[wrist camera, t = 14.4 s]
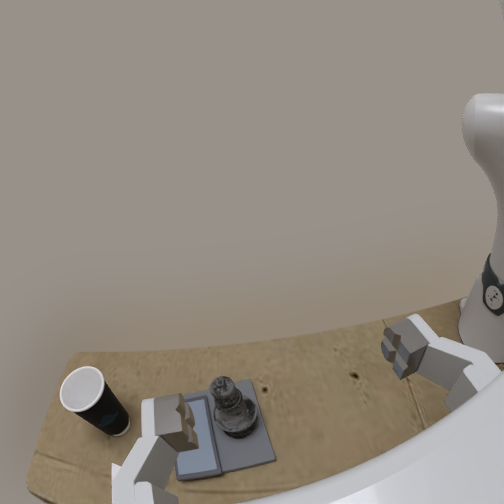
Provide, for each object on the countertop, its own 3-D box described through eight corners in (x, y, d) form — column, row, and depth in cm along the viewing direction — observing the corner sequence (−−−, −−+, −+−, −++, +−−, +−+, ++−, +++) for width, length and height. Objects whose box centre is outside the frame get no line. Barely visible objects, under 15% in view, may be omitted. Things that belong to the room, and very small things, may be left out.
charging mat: (251, 382, 43) (250, 378, 42) (276, 460, 31) (275, 458, 30) (172, 400, 41) (170, 397, 41) (181, 479, 30) (178, 478, 29)
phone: (207, 397, 40) (205, 394, 40) (223, 474, 29) (221, 472, 29) (170, 405, 40) (168, 402, 39) (179, 481, 29) (176, 479, 28)
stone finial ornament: (211, 428, 36) (181, 386, 29) (235, 399, 39) (213, 350, 33) (245, 448, 32) (223, 410, 26) (269, 415, 36) (255, 369, 30)
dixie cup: (108, 400, 42) (73, 362, 36) (145, 408, 40) (111, 370, 34) (92, 437, 35) (51, 403, 29) (130, 449, 34) (89, 417, 28)
